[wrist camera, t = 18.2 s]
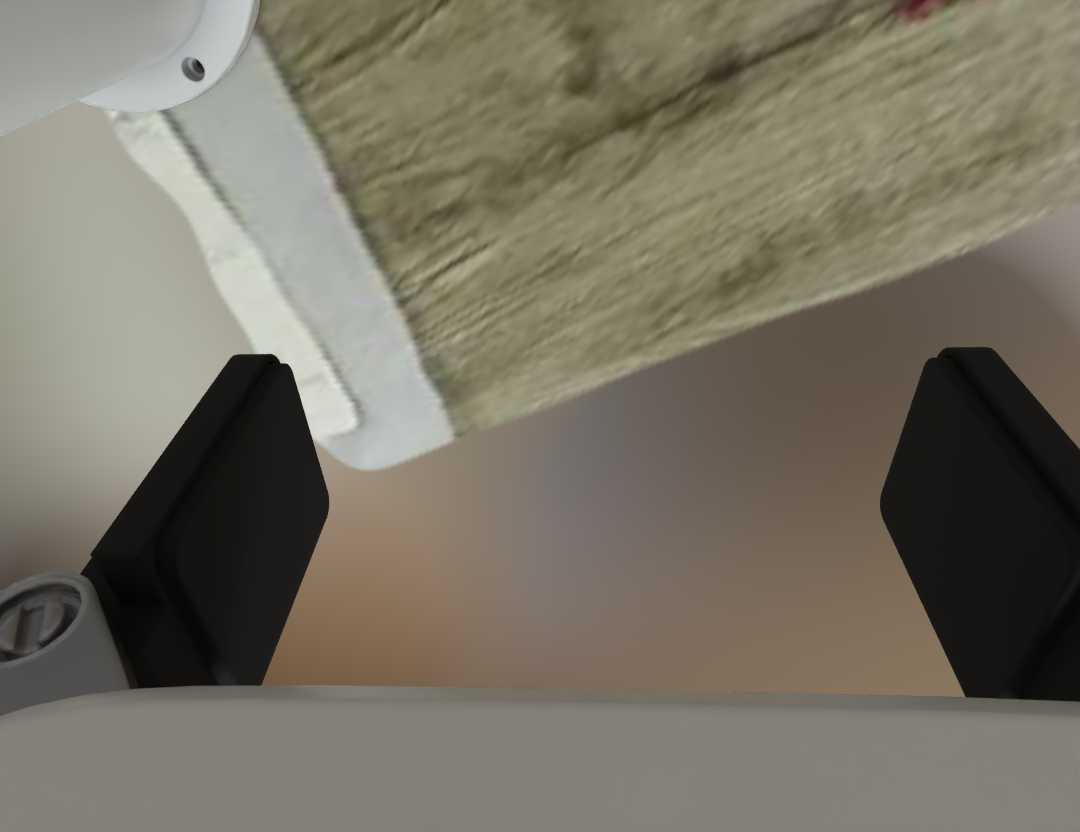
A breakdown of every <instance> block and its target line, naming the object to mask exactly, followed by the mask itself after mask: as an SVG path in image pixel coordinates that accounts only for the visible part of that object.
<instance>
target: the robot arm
mask: <svg viewBox="0 0 1080 832" xmlns="http://www.w3.org/2000/svg"><path fill="white" fill-rule="evenodd" d="M259 6H260V0H0V136H2V135H4V134H6V133H8V132H10V131H13V130H15V129H17V128H19V127H21V126H24V125H26V124H28V123H30V122H32V121H34V120H37V119H39V118H41V117H43V116H45V115H47V114H49V113H52V112H54V111H56V110H58V109H60V108H63V107H64V106H67V105H69V104H71V103H73V102H75V101H78V102H80V103H84V104H88V105H92V106H96V107H100V108H103V109H107V110H112V111H126V112H140V113H141V112H148V111H155V110H162V109H169V108H171V107H174V106H176V105H179V104H181V103H184V102H186V101H189V100H192V99H194V98H195V97H197V96H199V95H200V94H202V93H204V92H205V91H207V90H208V89H210V88H212V87H213V86H214V85H215V84H216V83H217V82H218V81H220V80H221V79H222V78H223V77H224V76H225V75H226V74H227V73H228V72H229V71H230V70H231V69H232V68H233V67H234V65H235V64H236V62H237V60H238V59H239V57H240V56H241V54H242V53H243V51H244V50H245V48H246V46H247V45H248V42H249V39H250V37H251V34H252V31H253V28H254V26H255V23H256V20H257V17H258V13H259ZM197 60H198V61H199V62H201V64H202V66H203V68H204V71H202V70H201V69H200V68H199V67H198V65H197ZM328 510H329V495H328V491H327V487H326V484H325V480H324V477H323V474H322V471H321V467H320V463H319V460H318V457H317V454H316V450H315V446H314V443H313V440H312V436H311V433H310V429H309V426H308V423H307V419H306V416H305V412H304V409H303V406H302V402H301V399H300V395H299V392H298V389H297V385H296V382H295V378H294V375H293V372H292V369H291V368H290V366H289V365H288V364H280V361H279V360H278V358H277V357H276V356H275V355H273V354H245V355H244V354H239V355H234V356H232V357H231V358H230V360H229V361H228V362H227V364H226V365H225V367H224V368H223V369H222V371H221V372H220V374H219V375H218V376H217V378H216V379H215V381H214V382H213V383H212V385H211V386H210V388H209V389H208V390H207V392H206V393H205V395H204V396H203V397H202V399H201V400H200V402H199V403H198V404H197V406H196V407H195V409H194V410H193V411H192V413H191V414H190V416H189V417H188V418H187V420H186V421H185V423H184V424H183V425H182V427H181V428H180V430H179V431H178V432H177V434H176V435H175V437H174V438H173V439H172V441H171V442H170V444H169V445H168V446H167V448H166V449H165V451H164V452H163V453H162V455H161V456H160V458H159V459H158V460H157V462H156V463H155V464H154V466H153V467H152V469H151V470H150V472H149V473H148V475H147V476H146V477H145V478H144V480H143V481H142V483H141V484H140V486H139V487H138V488H137V490H136V491H135V492H134V494H133V495H132V497H131V498H130V499H129V501H128V502H127V504H126V505H125V506H124V508H123V510H122V511H121V512H120V513H119V515H118V516H117V518H116V519H115V521H114V522H113V523H112V525H111V526H110V528H109V529H108V530H107V532H106V533H105V534H104V536H103V537H102V539H101V540H100V542H99V543H98V544H97V546H96V547H95V549H94V550H93V551H92V553H91V556H92V558H91V560H90V561H89V562H88V564H87V565H86V567H85V568H84V569H83V571H82V572H81V574H78V573H75V572H64V571H56V572H49V573H43V574H38V575H35V576H32V577H29V578H26V579H24V580H21V581H18V582H16V583H14V584H12V585H10V586H9V587H7V588H5V589H3V590H1V591H0V832H1080V449H1079V448H1078V447H1077V446H1076V444H1075V443H1074V442H1073V441H1072V440H1071V439H1070V438H1069V436H1068V435H1067V434H1066V433H1065V432H1064V431H1063V429H1062V428H1061V427H1060V426H1059V425H1058V424H1057V422H1056V421H1055V420H1054V419H1053V418H1052V417H1051V415H1050V414H1049V413H1048V412H1047V411H1046V410H1045V409H1044V407H1043V406H1042V405H1041V404H1040V403H1039V402H1038V400H1037V399H1036V398H1035V397H1034V396H1033V395H1032V393H1031V392H1030V391H1029V390H1028V389H1027V388H1026V386H1025V385H1024V384H1023V383H1022V382H1021V381H1020V379H1019V378H1018V377H1017V376H1016V375H1015V374H1014V373H1013V372H1012V370H1011V369H1010V368H1009V367H1008V366H1007V364H1006V363H1005V362H1004V361H1003V360H1002V359H1001V357H1000V356H999V355H998V354H997V353H996V352H995V351H994V350H993V349H992V348H988V347H959V348H958V347H955V348H954V347H952V348H945V349H943V350H942V351H941V352H940V353H939V355H938V357H937V358H930V359H928V361H927V362H926V363H925V365H924V368H923V371H922V374H921V377H920V380H919V383H918V386H917V389H916V392H915V395H914V398H913V401H912V404H911V407H910V409H909V412H908V415H907V418H906V422H905V425H904V427H903V430H902V433H901V437H900V440H899V443H898V445H897V448H896V451H895V454H894V457H893V460H892V463H891V466H890V470H889V473H888V475H887V478H886V481H885V484H884V487H883V490H882V493H881V498H880V510H881V514H882V517H883V520H884V523H885V525H886V527H887V529H888V531H889V533H890V535H891V538H892V539H893V542H894V544H895V546H896V548H897V550H898V553H899V555H900V557H901V559H902V561H903V563H904V565H905V567H906V570H907V572H908V574H909V576H910V578H911V580H912V583H913V585H914V587H915V589H916V591H917V593H918V596H919V598H920V600H921V602H922V604H923V606H924V608H925V611H926V613H927V615H928V617H929V619H930V621H931V624H932V626H933V628H934V630H935V632H936V634H937V636H938V639H939V641H940V643H941V645H942V647H943V649H944V651H945V654H946V656H947V658H948V660H949V662H950V664H951V666H952V669H953V671H954V673H955V675H956V677H957V679H958V681H959V683H960V686H961V688H962V690H963V692H964V694H965V697H941V696H899V695H854V694H811V693H810V694H809V693H767V692H719V691H718V692H717V691H665V690H662V691H661V690H609V689H607V690H606V689H551V688H550V689H547V688H486V687H485V688H484V687H482V688H481V687H407V686H406V687H405V686H402V687H401V686H327V685H325V686H324V685H305V686H304V685H299V686H298V685H292V686H291V685H290V686H289V685H288V686H285V685H283V686H282V685H281V686H261V685H262V682H263V680H264V677H265V674H266V672H267V669H268V666H269V664H270V662H271V659H272V657H273V654H274V652H275V649H276V646H277V644H278V641H279V639H280V636H281V633H282V631H283V628H284V626H285V623H286V621H287V618H288V616H289V613H290V611H291V608H292V605H293V603H294V600H295V598H296V595H297V592H298V590H299V587H300V585H301V582H302V580H303V577H304V575H305V572H306V570H307V567H308V564H309V562H310V559H311V557H312V554H313V552H314V549H315V546H316V544H317V541H318V539H319V536H320V534H321V531H322V529H323V526H324V523H325V521H326V518H327V515H328Z"/></svg>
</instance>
